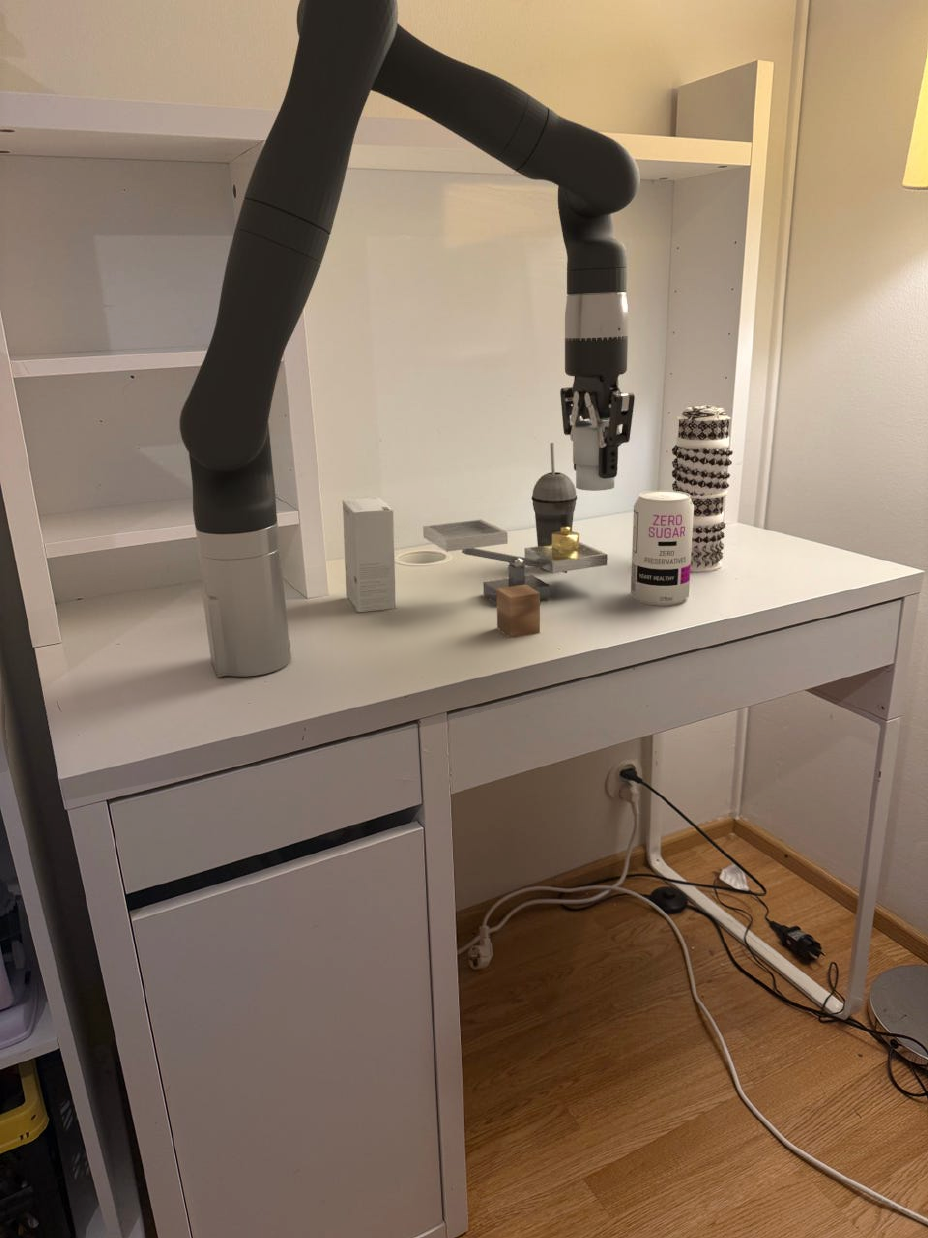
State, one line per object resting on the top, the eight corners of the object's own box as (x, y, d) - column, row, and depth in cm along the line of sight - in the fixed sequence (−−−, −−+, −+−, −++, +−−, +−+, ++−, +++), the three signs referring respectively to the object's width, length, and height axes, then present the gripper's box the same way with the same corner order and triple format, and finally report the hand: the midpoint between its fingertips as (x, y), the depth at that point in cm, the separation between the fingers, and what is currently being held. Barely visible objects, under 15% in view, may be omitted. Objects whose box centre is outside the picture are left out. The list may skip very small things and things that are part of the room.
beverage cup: (540, 576, 139) (540, 448, 132) (525, 564, 145) (524, 442, 139) (583, 571, 140) (585, 445, 134) (566, 560, 147) (567, 439, 140)
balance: (449, 618, 121) (446, 539, 117) (426, 600, 128) (423, 526, 125) (606, 593, 129) (608, 519, 126) (576, 577, 137) (577, 507, 134)
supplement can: (664, 586, 132) (669, 487, 127) (700, 601, 125) (707, 496, 120) (619, 595, 128) (622, 493, 124) (654, 610, 121) (659, 503, 116)
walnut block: (510, 638, 113) (510, 597, 111) (497, 628, 117) (496, 588, 115) (539, 633, 114) (539, 592, 113) (525, 623, 118) (525, 584, 116)
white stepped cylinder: (626, 488, 110) (627, 427, 108) (587, 492, 108) (587, 431, 106) (602, 481, 115) (603, 423, 113) (565, 485, 113) (564, 426, 111)
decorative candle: (669, 572, 139) (677, 410, 130) (663, 557, 147) (670, 404, 139) (728, 572, 137) (740, 409, 129) (719, 557, 146) (730, 403, 138)
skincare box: (346, 597, 131) (338, 499, 126) (385, 592, 133) (379, 495, 128) (358, 614, 123) (350, 510, 118) (399, 609, 125) (394, 506, 120)
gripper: (657, 332, 101) (652, 479, 106) (592, 332, 113) (591, 463, 119) (600, 336, 98) (598, 486, 104) (540, 334, 111) (541, 469, 116)
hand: (594, 473), depth 111 cm, fingers closed on white stepped cylinder, 5 cm apart
